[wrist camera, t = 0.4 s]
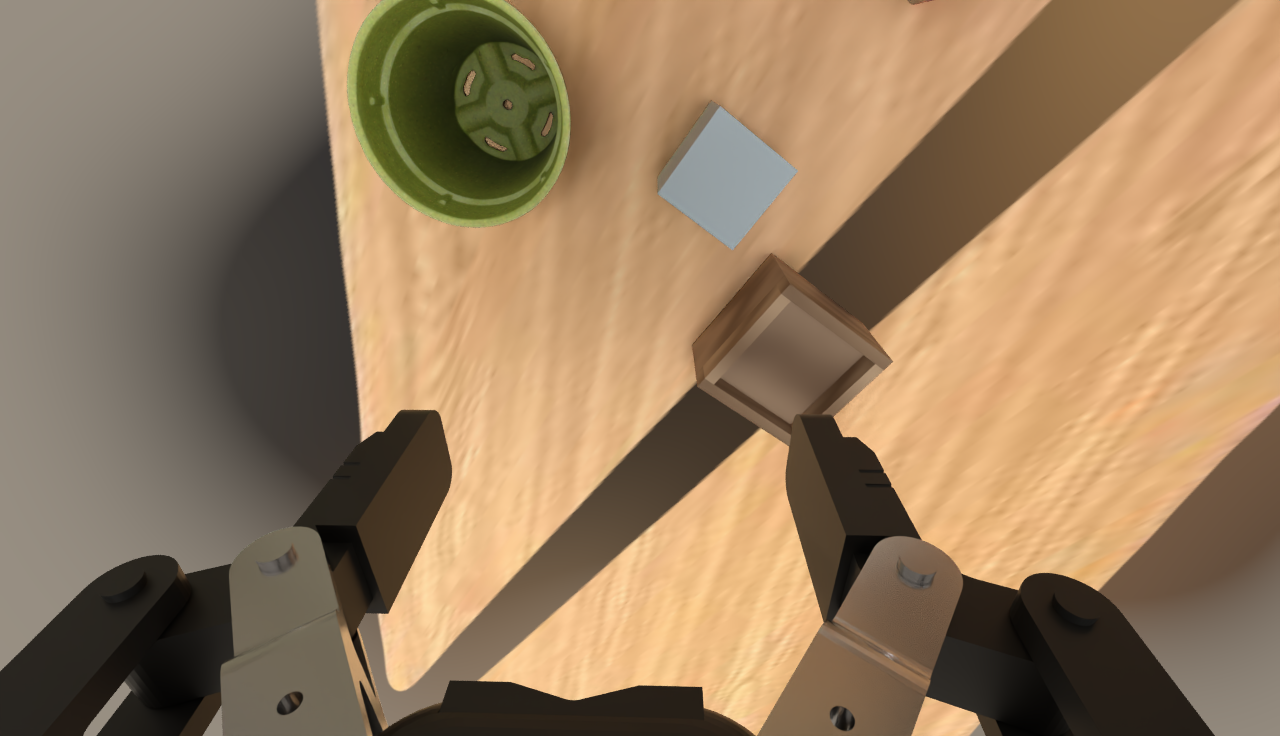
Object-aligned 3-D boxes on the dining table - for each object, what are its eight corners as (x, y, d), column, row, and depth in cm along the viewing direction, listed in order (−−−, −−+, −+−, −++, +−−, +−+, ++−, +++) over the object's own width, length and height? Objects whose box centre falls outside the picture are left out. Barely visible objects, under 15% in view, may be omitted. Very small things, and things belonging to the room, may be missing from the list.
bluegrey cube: (711, 100, 30) (720, 105, 26) (778, 156, 32) (798, 170, 27) (657, 176, 32) (657, 193, 28) (722, 226, 34) (732, 250, 29)
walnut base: (771, 253, 34) (790, 284, 30) (861, 322, 36) (892, 361, 32) (692, 345, 38) (697, 386, 33) (779, 403, 40) (796, 450, 35)
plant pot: (406, 147, 32) (328, 173, 24) (448, -34, 28) (369, -71, 20) (557, 216, 34) (528, 260, 26) (618, 55, 29) (605, 52, 22)
